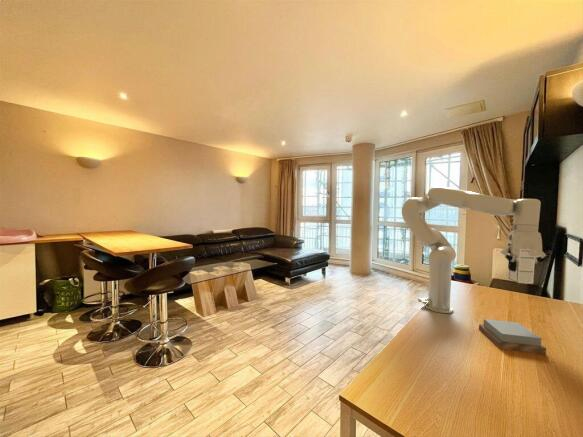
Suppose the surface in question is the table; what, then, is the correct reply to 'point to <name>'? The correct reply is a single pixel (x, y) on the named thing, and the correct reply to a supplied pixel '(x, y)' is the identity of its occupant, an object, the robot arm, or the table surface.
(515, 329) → the slate-grey slab
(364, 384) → the table surface
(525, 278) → the syrup box
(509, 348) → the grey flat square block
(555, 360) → the table surface
